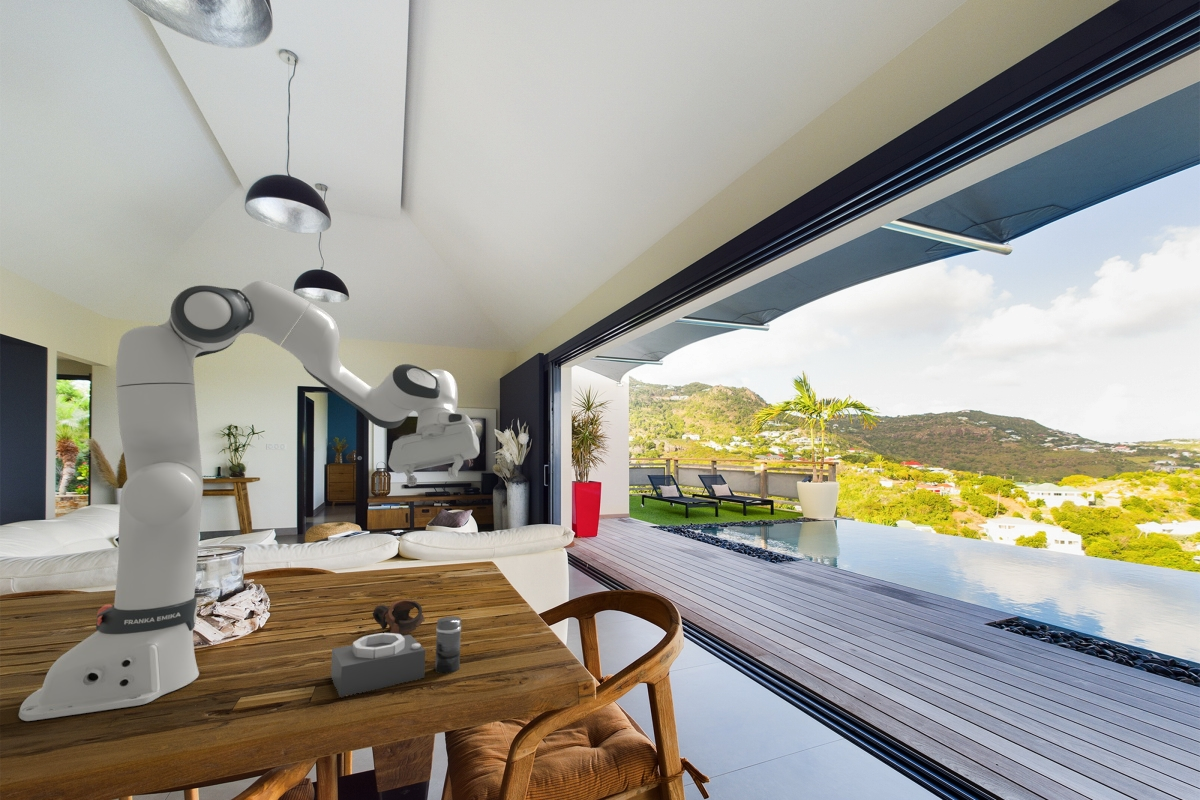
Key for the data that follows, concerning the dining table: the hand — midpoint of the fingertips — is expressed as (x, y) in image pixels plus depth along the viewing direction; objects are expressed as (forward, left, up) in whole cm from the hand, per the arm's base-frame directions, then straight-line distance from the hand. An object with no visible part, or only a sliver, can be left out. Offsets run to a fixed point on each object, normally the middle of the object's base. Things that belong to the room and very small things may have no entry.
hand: (432, 480), depth 116 cm
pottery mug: (-2, +13, -35) cm, 38 cm away
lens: (0, -13, -35) cm, 37 cm away
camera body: (-12, -10, -35) cm, 38 cm away
